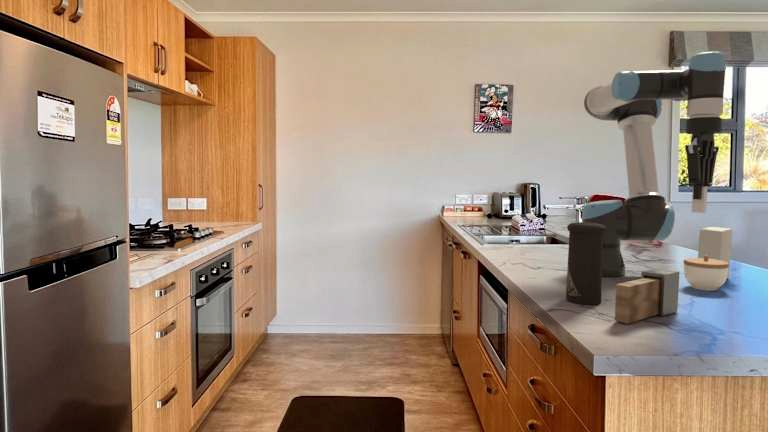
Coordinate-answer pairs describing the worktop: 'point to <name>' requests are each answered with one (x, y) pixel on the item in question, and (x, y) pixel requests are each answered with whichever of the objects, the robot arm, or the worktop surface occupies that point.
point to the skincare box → (715, 244)
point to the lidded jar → (705, 273)
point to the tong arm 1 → (619, 296)
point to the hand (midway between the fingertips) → (698, 212)
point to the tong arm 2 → (641, 300)
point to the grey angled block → (666, 288)
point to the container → (585, 263)
